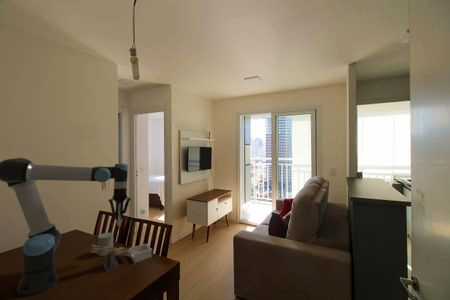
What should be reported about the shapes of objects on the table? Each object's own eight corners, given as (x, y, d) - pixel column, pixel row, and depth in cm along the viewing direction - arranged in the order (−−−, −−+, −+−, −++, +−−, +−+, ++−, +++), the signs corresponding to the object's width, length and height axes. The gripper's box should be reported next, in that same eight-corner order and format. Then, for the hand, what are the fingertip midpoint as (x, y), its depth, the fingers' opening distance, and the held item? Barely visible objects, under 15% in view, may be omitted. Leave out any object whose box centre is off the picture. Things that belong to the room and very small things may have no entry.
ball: (140, 253, 134) (144, 249, 136) (138, 251, 136) (143, 248, 138) (142, 257, 135) (147, 253, 137) (140, 255, 137) (145, 251, 139)
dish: (134, 263, 128) (134, 254, 128) (128, 256, 136) (128, 248, 136) (152, 257, 135) (152, 249, 135) (145, 251, 143) (146, 243, 143)
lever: (90, 254, 116) (93, 247, 117) (87, 247, 125) (90, 240, 126) (129, 258, 129) (132, 251, 130) (123, 251, 138) (126, 244, 139)
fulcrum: (106, 271, 118) (106, 257, 119) (102, 264, 126) (102, 250, 126) (119, 267, 123) (119, 253, 123) (115, 260, 131) (115, 247, 131)
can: (108, 256, 136) (108, 237, 136) (94, 255, 136) (94, 237, 136) (116, 249, 145) (116, 232, 145) (102, 249, 145) (103, 231, 145)
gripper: (110, 189, 128) (108, 228, 128) (132, 187, 137) (131, 224, 136) (107, 187, 134) (105, 225, 133) (129, 186, 142) (127, 221, 142)
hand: (118, 224), depth 135 cm, fingers closed
